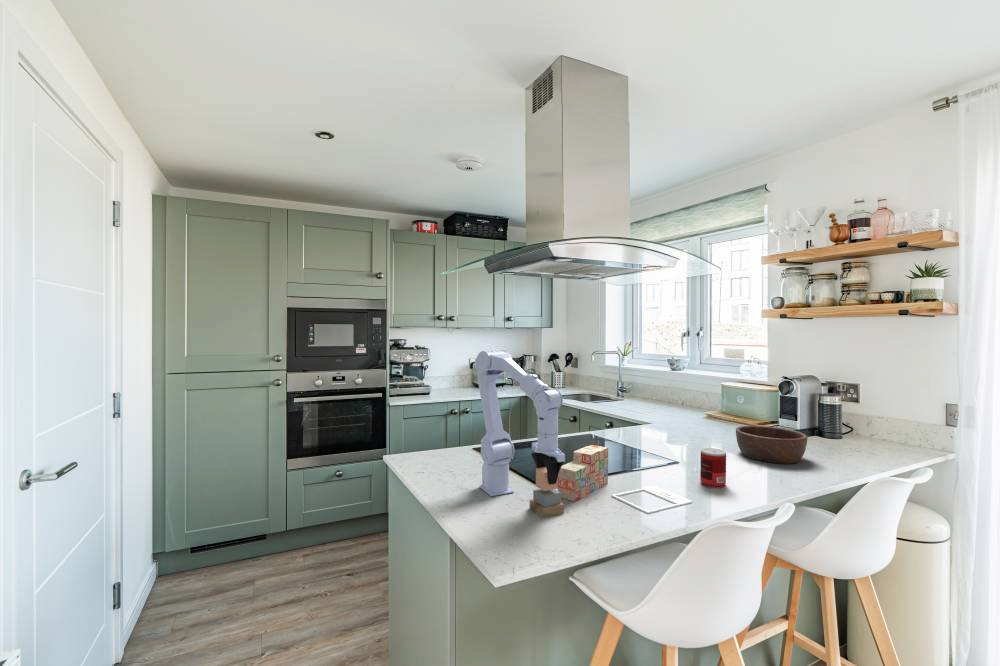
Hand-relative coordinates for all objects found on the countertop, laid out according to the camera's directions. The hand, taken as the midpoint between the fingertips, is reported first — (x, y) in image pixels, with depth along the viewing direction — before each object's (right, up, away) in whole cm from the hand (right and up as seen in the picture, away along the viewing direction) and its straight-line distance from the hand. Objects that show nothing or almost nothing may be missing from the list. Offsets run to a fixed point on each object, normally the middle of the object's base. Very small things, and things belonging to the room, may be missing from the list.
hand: (547, 480), depth 129 cm
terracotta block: (0, -2, 0) cm, 2 cm away
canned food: (+58, -9, +23) cm, 63 cm away
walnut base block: (0, -9, 0) cm, 9 cm away
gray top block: (0, -6, 0) cm, 6 cm away
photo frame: (+32, -9, +9) cm, 35 cm away
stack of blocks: (+13, -9, +17) cm, 23 cm away
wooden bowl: (+96, -9, +56) cm, 112 cm away
